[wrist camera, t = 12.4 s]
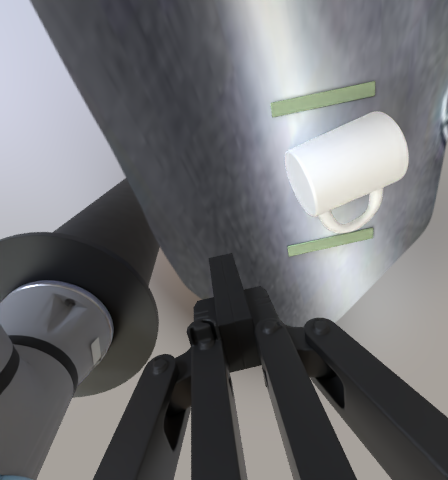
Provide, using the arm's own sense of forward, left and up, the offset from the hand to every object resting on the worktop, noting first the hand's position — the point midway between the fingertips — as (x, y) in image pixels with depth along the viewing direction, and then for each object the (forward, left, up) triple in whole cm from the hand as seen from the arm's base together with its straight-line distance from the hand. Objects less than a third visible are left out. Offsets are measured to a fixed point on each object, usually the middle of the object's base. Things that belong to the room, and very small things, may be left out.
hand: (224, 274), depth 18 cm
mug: (+15, 0, -19) cm, 24 cm away
